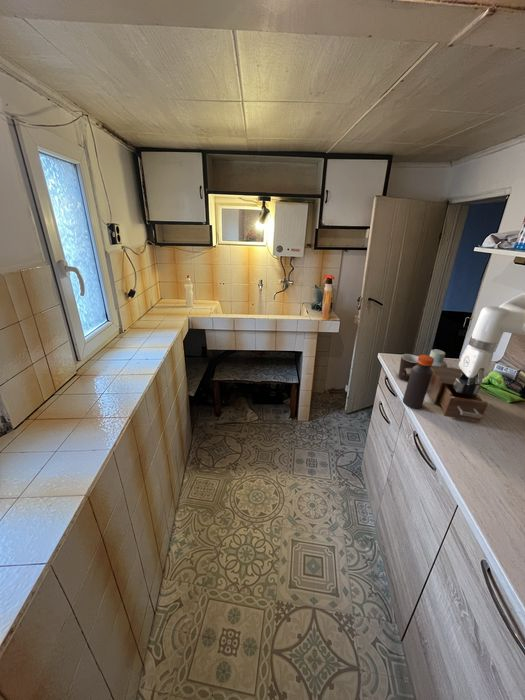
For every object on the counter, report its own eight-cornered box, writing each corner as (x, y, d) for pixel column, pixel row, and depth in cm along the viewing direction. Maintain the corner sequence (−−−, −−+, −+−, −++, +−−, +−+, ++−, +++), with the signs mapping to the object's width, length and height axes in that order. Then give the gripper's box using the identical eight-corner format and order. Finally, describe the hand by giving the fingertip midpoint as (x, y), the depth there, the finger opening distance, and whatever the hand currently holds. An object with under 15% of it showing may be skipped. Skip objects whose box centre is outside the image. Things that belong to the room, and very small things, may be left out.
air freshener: (430, 364, 141) (436, 346, 136) (447, 371, 134) (454, 353, 130) (417, 369, 135) (423, 350, 131) (434, 377, 129) (440, 357, 125)
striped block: (471, 389, 102) (474, 380, 101) (475, 395, 99) (479, 386, 97) (452, 386, 103) (455, 378, 102) (456, 392, 100) (460, 383, 98)
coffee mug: (392, 377, 127) (397, 357, 123) (400, 371, 133) (406, 352, 128) (419, 388, 120) (425, 367, 115) (426, 381, 125) (433, 361, 121)
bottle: (410, 409, 105) (425, 362, 97) (398, 399, 111) (411, 354, 103) (425, 408, 107) (441, 361, 98) (413, 398, 113) (427, 353, 104)
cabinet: (470, 409, 107) (479, 388, 103) (434, 403, 110) (441, 382, 105) (456, 389, 120) (464, 369, 116) (424, 384, 122) (430, 365, 118)
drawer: (485, 430, 95) (494, 411, 91) (448, 424, 97) (456, 405, 94) (464, 400, 111) (471, 383, 107) (433, 395, 113) (439, 378, 110)
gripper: (460, 333, 101) (445, 377, 109) (481, 352, 87) (461, 401, 94) (484, 336, 100) (466, 380, 108) (509, 356, 85) (486, 405, 93)
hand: (464, 390), depth 101 cm, fingers closed on striped block, 4 cm apart
